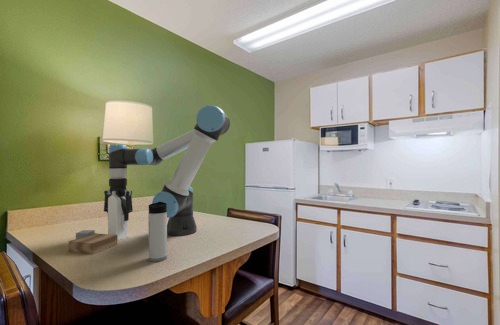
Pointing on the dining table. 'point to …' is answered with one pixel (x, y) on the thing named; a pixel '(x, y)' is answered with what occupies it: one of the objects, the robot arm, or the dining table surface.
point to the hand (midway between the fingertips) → (118, 227)
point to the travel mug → (157, 231)
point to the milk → (116, 217)
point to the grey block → (84, 233)
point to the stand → (92, 243)
